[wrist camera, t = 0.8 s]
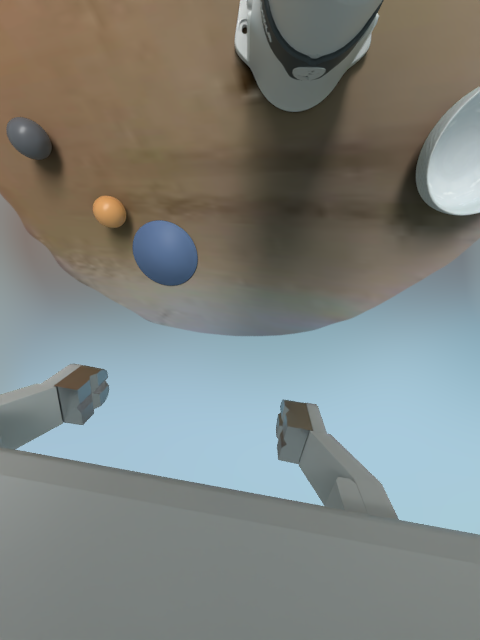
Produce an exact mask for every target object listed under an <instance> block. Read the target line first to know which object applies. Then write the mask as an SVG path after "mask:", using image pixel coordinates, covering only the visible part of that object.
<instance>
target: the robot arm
mask: <svg viewBox="0 0 480 640" xmlns="http://www.w3.org/2000/svg"><path fill="white" fill-rule="evenodd" d="M382 2H383V0H240V6H239V12H238V19H237V26H236V33H235V50H236V52H237V54H238V56H239V57H240V58H241V59H242V60H243V61H244V62H245V63H246V64H247V65H248V66H249V67H250V69H251V71H252V73H253V75H254V77H255V80H256V82H257V84H258V86H259V88H260V90H261V92H262V93H263V95H264V96H265V97H266V98H267V99H268V101H270V102H271V103H272V104H273V105H274V106H276V107H278V108H280V109H282V110H285V111H290V112H298V111H304V110H307V109H309V108H312V107H314V106H315V105H317V104H318V103H320V102H321V101H322V100H324V99H325V98H326V97H327V96H328V95H329V94H330V93H331V91H332V90H333V89H334V88H335V86H336V85H337V83H338V82H339V80H340V79H341V77H342V76H343V74H344V73H345V72H346V71H347V69H349V68H350V67H352V66H353V65H354V64H355V63H357V62H358V61H359V60H360V59H361V58H362V57H363V56H364V55H365V53H366V52H367V50H368V48H369V46H370V43H371V34H372V31H373V29H374V27H375V26H376V23H377V21H378V17H379V15H378V14H377V13H378V11H379V9H380V6H381V4H382ZM244 27H246V28H247V33H246V34H243V33H242V29H243V28H244ZM107 378H108V374H107V371H106V370H104V369H100V368H95V367H90V366H83V365H79V364H70V365H68V366H67V367H65V368H64V369H62V370H61V371H59V372H58V373H56V374H55V375H53V376H52V377H51V378H49V379H48V380H46V381H44V382H43V383H42V384H34V385H31V386H28V387H24V388H21V389H17V390H15V391H11V392H7V393H4V394H1V395H0V640H480V535H478V534H472V533H467V532H461V531H456V530H450V529H445V528H440V527H434V526H429V525H423V524H418V523H412V522H407V521H401V520H399V519H398V517H397V515H396V513H395V511H394V509H393V507H392V505H391V502H390V500H389V498H388V497H387V494H386V492H385V490H384V488H383V486H382V484H381V483H380V482H379V481H378V480H377V479H376V478H375V477H374V476H373V475H372V474H371V473H370V472H368V470H367V469H366V468H365V467H364V466H363V465H362V464H361V463H360V462H359V461H357V460H356V459H355V458H354V457H353V456H352V455H351V454H350V453H349V452H348V451H347V450H346V449H345V448H344V447H343V446H342V445H341V444H340V443H339V442H338V441H337V440H336V439H335V438H334V437H333V436H332V435H330V434H327V432H326V429H325V426H324V423H323V420H322V417H321V415H320V411H319V408H318V406H317V405H316V404H310V403H300V402H295V401H289V400H282V402H281V406H280V408H281V413H280V414H278V418H277V425H276V435H277V438H278V439H279V440H278V444H277V450H278V460H282V461H286V462H291V463H296V464H299V466H300V468H301V470H302V471H303V473H304V474H305V476H306V477H307V479H308V481H309V482H310V484H311V485H312V487H313V488H314V490H315V491H316V493H317V495H318V496H319V498H320V499H321V501H322V502H323V504H324V506H320V505H313V504H309V503H303V502H298V501H292V500H286V499H281V498H276V497H270V496H265V495H260V494H254V493H248V492H243V491H237V490H232V489H227V488H221V487H216V486H210V485H205V484H200V483H194V482H189V481H183V480H178V479H172V478H167V477H161V476H156V475H151V474H145V473H140V472H134V471H129V470H122V469H118V468H112V467H106V466H101V465H96V464H91V463H85V462H79V461H74V460H69V459H63V458H57V457H52V456H47V455H41V454H36V453H30V452H25V451H19V450H15V449H17V448H18V447H20V446H22V445H24V444H25V443H27V442H29V441H31V440H33V439H35V438H37V437H39V436H40V435H42V434H44V433H46V432H48V431H50V430H51V429H53V428H55V427H57V426H59V425H61V424H62V423H63V422H65V423H73V424H79V425H83V424H84V423H85V422H86V421H87V420H88V419H89V418H90V417H91V416H92V415H93V414H94V409H95V408H97V407H99V406H101V405H102V404H103V403H104V402H105V400H106V398H107V396H108V392H109V385H108V384H107V383H106V381H105V380H106V379H107Z"/></svg>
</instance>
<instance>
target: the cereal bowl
mask: <svg viewBox="0 0 480 640" xmlns="http://www.w3.org/2000/svg"><path fill="white" fill-rule="evenodd" d="M416 184H417V189H418V192H419V194H420V196H421V198H422V199H423V200H424V201H425V203H427V204H428V205H429V206H430V207H432V208H433V209H435V210H437V211H440V212H443V213H446V214H451V215H459V216H462V215H472V214H476V213H480V87H478V88H476V89H474V90H473V91H471V92H470V93H468V94H467V95H466V96H464V97H463V98H461V99H460V100H459V101H458V102H457V103H455V104H454V105H453V106H452V107H451V108H450V109H449V110H448V111H447V112H446V113H445V114H444V115H443V116H442V118H441V119H440V120H439V121H438V122H437V124H436V125H435V127H434V128H433V129H432V131H431V132H430V134H429V136H428V137H427V139H426V141H425V143H424V145H423V147H422V149H421V152H420V155H419V159H418V161H417V167H416Z"/></svg>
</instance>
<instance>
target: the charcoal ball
mask: <svg viewBox="0 0 480 640" xmlns="http://www.w3.org/2000/svg"><path fill="white" fill-rule="evenodd" d="M7 136H8V138H9V140H10V142H11V144H12V145H13V146H14V147H15V148H16V149H17V150H18V151H19V152H20V153H21V154H23V155H25V156H27V157H29V158H31V159H36V160H41V159H45V158H47V157H48V156H49V155H50V153H51V150H52V145H51V141H50V138H49V136H48V135H47V133H46V132H45V130H44V129H43V128H42V127H41V126H40V125H38V124H37V123H35V122H34V121H32V120H30V119H27V118H23V117H16V118H13V119H11V120H10V121H9V122H8V124H7Z"/></svg>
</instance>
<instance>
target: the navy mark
mask: <svg viewBox="0 0 480 640" xmlns="http://www.w3.org/2000/svg"><path fill="white" fill-rule="evenodd" d="M133 254H134V257H135V260H136V262H137V264H138V266H139V268H140V269H141V270H142V272H143V273H144V274H145V275H146V276H148V277H149V278H150V279H152V280H153V281H155V282H157V283H160V284H163V285H178V284H182V283H184V282H185V281H187V280H188V279H189V278H190V277H191V276H192V275H193V273H194V272H195V270H196V266H197V251H196V247H195V245H194V243H193V241H192V239H191V238H190V236H189V235H188V234H187V233H186V232H185V231H184V230H183V229H182V228H180V227H179V226H177V225H175V224H173V223H171V222H167V221H161V220H160V221H152V222H149V223H147V224H145V225H143V226H142V227H141V228H140V229H139V230H138V231H137V233H136V235H135V237H134V241H133Z"/></svg>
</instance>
